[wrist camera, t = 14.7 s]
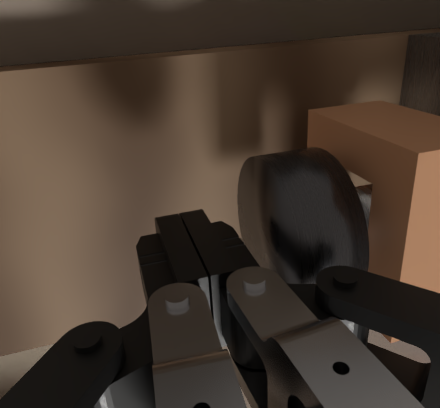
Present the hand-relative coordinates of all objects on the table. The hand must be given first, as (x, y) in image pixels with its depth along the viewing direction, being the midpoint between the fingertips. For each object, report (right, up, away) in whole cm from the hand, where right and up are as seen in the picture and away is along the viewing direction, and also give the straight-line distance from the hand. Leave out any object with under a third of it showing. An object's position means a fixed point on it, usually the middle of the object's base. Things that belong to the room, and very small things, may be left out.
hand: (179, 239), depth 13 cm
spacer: (+6, +2, +4) cm, 7 cm away
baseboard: (+3, +2, +6) cm, 7 cm away
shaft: (+8, +2, +3) cm, 9 cm away
